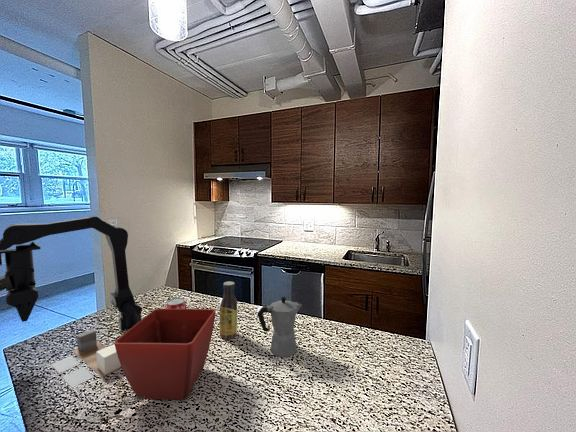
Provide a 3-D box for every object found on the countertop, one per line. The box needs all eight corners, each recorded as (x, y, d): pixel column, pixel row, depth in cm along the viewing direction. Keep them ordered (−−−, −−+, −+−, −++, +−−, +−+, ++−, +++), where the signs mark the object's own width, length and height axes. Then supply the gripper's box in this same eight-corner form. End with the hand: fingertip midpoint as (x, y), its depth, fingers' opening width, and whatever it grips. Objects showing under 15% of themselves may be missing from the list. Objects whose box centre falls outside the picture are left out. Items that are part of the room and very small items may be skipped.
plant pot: (157, 359, 81) (155, 307, 80) (217, 360, 81) (216, 308, 79) (115, 409, 62) (111, 342, 61) (193, 411, 62) (191, 344, 60)
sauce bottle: (216, 338, 93) (214, 284, 92) (226, 329, 99) (225, 279, 97) (231, 341, 91) (230, 286, 89) (241, 333, 97) (240, 281, 95)
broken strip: (50, 367, 77) (50, 364, 77) (71, 358, 81) (71, 355, 81) (72, 391, 68) (71, 387, 68) (94, 380, 72) (94, 376, 72)
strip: (72, 353, 84) (71, 336, 83) (97, 342, 89) (96, 326, 89) (101, 380, 72) (100, 360, 71) (128, 366, 77) (127, 347, 77)
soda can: (179, 341, 91) (178, 305, 90) (162, 339, 92) (160, 304, 91) (191, 331, 98) (190, 298, 97) (174, 329, 99) (173, 296, 98)
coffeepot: (296, 338, 93) (296, 289, 92) (307, 353, 84) (307, 299, 83) (254, 346, 88) (254, 295, 87) (261, 363, 79) (261, 306, 78)
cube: (97, 368, 75) (96, 351, 75) (116, 358, 79) (115, 343, 79) (104, 374, 73) (103, 357, 72) (124, 364, 77) (123, 348, 76)
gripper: (-19, 265, 78) (-14, 315, 79) (-26, 279, 65) (-20, 338, 66) (33, 258, 86) (36, 304, 87) (36, 270, 73) (40, 323, 74)
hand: (24, 316), depth 79 cm, fingers open, 9 cm apart
